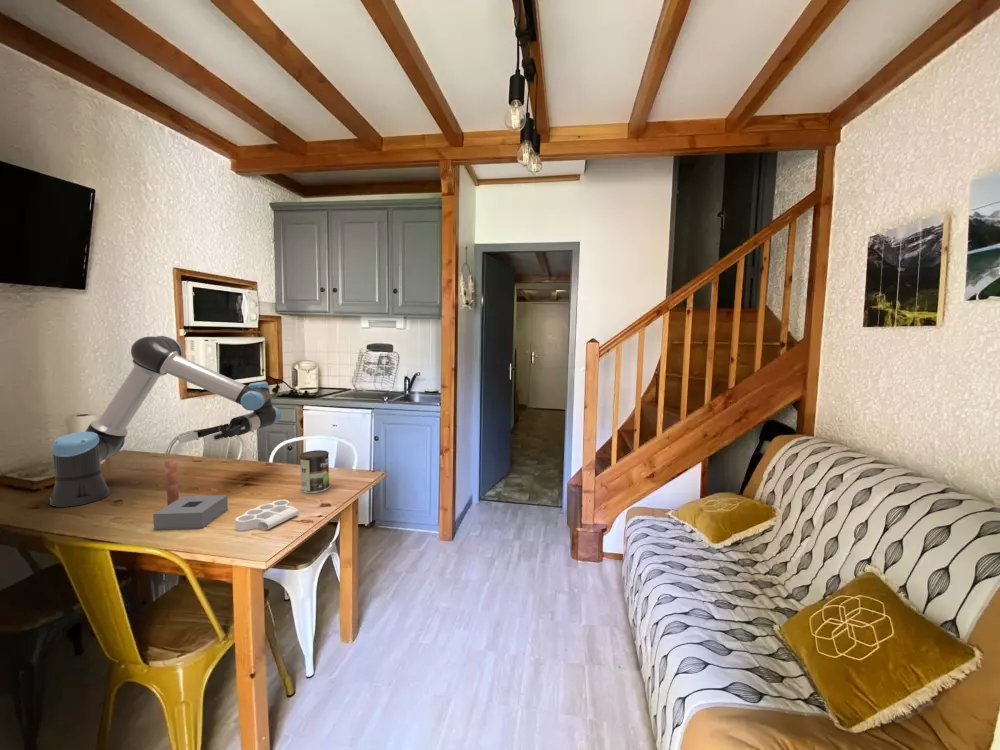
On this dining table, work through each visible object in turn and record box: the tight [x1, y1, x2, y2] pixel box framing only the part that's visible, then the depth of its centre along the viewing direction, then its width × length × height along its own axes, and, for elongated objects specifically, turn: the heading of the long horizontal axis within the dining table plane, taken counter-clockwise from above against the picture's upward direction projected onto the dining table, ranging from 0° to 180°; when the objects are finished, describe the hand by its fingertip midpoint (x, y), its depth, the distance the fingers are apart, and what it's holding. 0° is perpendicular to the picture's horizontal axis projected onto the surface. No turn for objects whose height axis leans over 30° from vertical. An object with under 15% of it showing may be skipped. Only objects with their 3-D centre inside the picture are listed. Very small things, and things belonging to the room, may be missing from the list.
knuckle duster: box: [234, 499, 299, 532], centre depth 135 cm, size 3×18×15 cm
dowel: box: [164, 459, 180, 506], centre depth 144 cm, size 3×3×16 cm
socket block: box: [152, 494, 229, 531], centre depth 134 cm, size 14×14×5 cm
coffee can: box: [299, 449, 330, 494], centre depth 162 cm, size 10×10×14 cm
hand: (191, 440), depth 151 cm, fingers open, 13 cm apart
